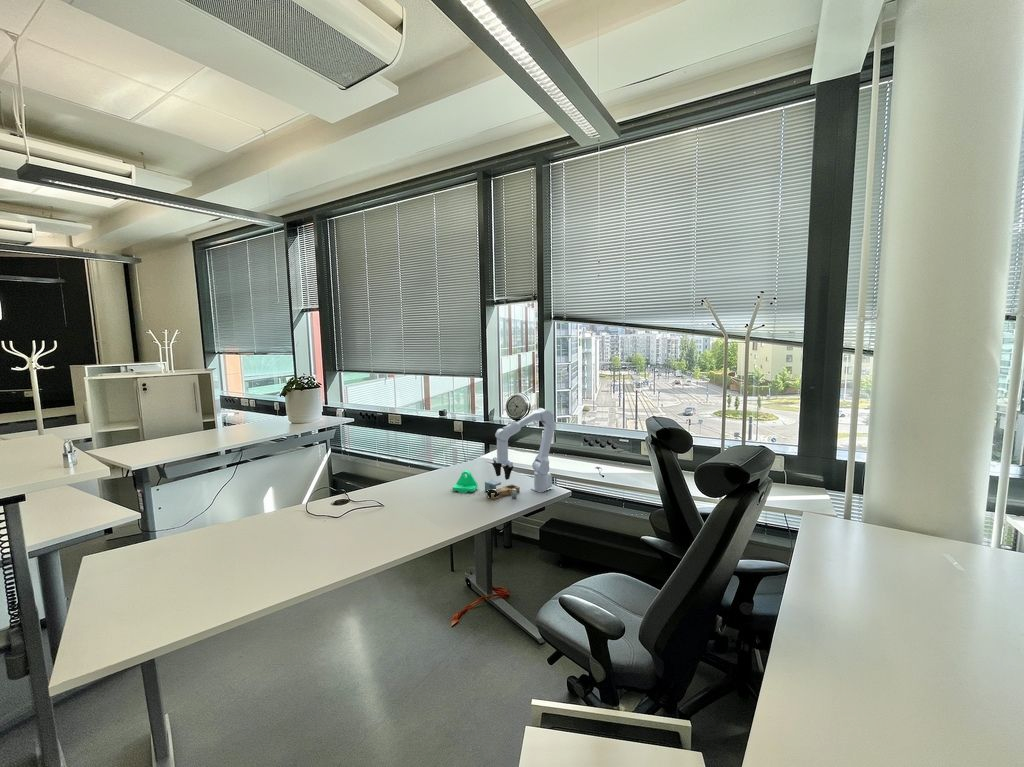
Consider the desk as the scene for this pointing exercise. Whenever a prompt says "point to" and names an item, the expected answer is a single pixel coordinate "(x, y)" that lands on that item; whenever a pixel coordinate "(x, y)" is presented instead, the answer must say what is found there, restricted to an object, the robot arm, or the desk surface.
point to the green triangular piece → (466, 483)
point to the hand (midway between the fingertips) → (502, 477)
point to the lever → (504, 491)
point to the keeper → (491, 484)
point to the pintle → (514, 493)
